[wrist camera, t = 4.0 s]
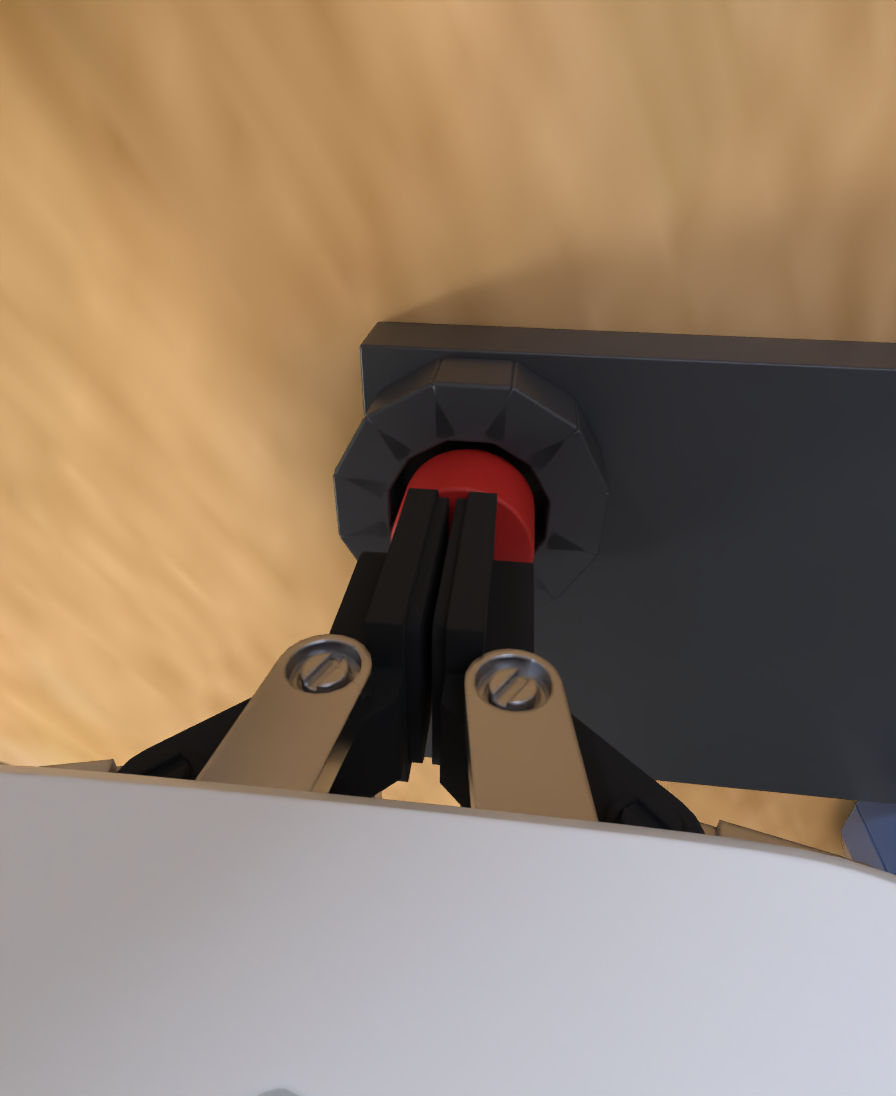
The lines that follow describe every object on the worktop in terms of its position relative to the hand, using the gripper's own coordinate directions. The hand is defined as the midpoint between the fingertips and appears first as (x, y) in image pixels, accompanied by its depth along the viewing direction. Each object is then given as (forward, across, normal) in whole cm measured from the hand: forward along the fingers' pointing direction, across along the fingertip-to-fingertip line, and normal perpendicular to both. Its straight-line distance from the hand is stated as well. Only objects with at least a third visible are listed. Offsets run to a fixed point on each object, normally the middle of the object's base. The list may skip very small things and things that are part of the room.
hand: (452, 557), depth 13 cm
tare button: (+2, 0, 0) cm, 2 cm away
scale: (+5, -6, +3) cm, 8 cm away
